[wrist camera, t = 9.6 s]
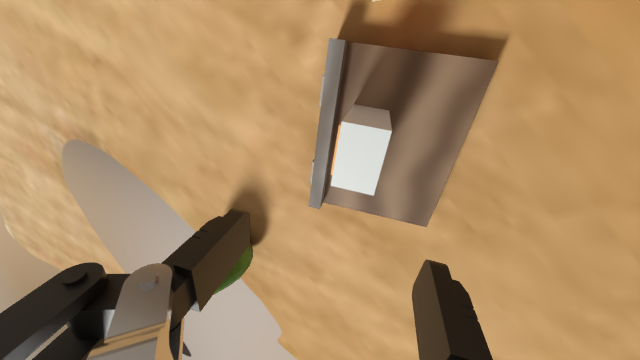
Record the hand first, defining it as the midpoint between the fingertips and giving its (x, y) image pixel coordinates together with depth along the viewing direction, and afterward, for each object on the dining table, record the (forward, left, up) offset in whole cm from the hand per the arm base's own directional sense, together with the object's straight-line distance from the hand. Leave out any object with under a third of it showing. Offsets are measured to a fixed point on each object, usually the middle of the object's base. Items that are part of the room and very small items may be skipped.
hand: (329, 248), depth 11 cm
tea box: (0, 0, -20) cm, 20 cm away
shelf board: (-3, +1, -22) cm, 22 cm away
